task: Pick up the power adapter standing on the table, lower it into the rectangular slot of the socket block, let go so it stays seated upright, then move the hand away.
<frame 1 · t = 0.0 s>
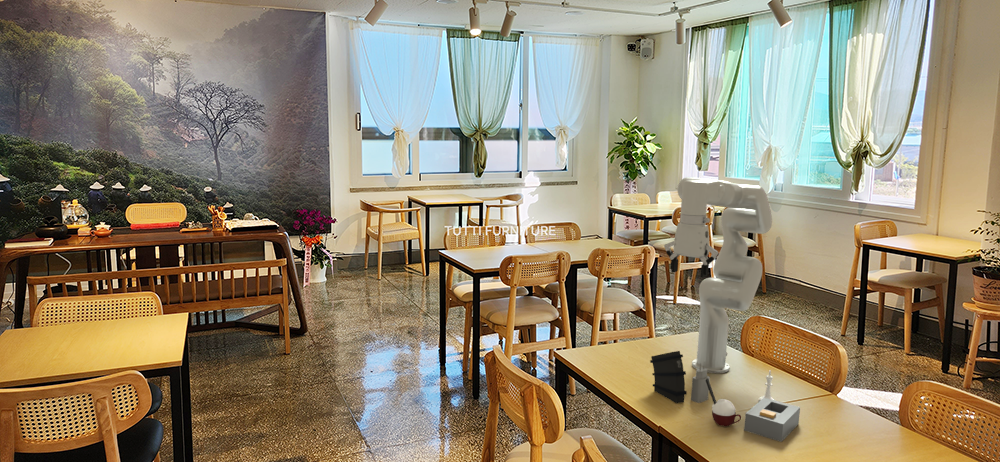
hand: (688, 274, 209), 37 cm above the table, tool pointing down, fingers open, 9 cm apart
chess piece: (767, 402, 204), on the table
power adapter: (699, 400, 205), on the table
socket block: (771, 427, 187), on the table
cocoa: (721, 424, 188), on the table
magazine: (666, 396, 207), on the table
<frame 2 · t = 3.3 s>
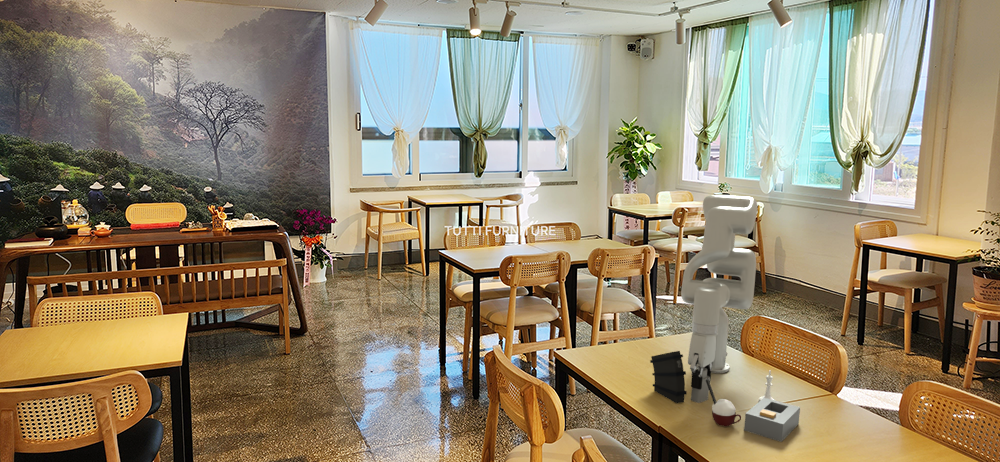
hand: (700, 384, 204), 5 cm above the table, tool pointing down, fingers closed on power adapter, 5 cm apart
power adapter: (699, 400, 205), on the table, touching gripper
everything else where it was.
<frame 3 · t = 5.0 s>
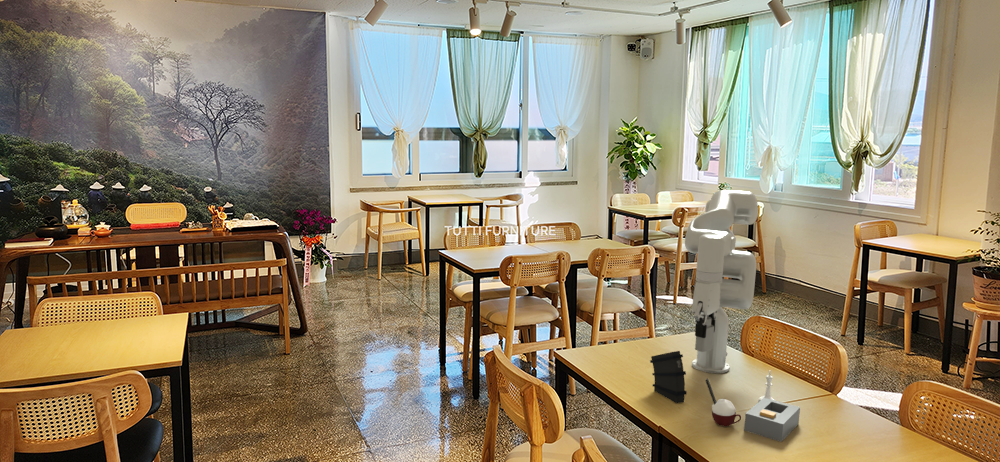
hand: (704, 333, 202), 21 cm above the table, tool pointing down, fingers closed on power adapter, 5 cm apart
power adapter: (703, 349, 203), point 16 cm above the table, touching gripper
everything else where it was.
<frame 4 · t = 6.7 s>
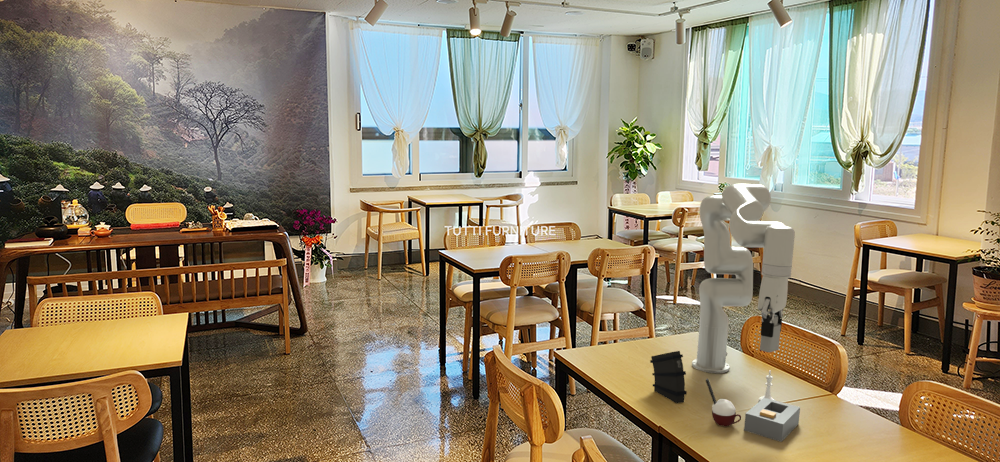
hand: (770, 333, 187), 26 cm above the table, tool pointing down, fingers closed on power adapter, 5 cm apart
power adapter: (769, 350, 188), point 21 cm above the table, touching gripper
everything else where it was.
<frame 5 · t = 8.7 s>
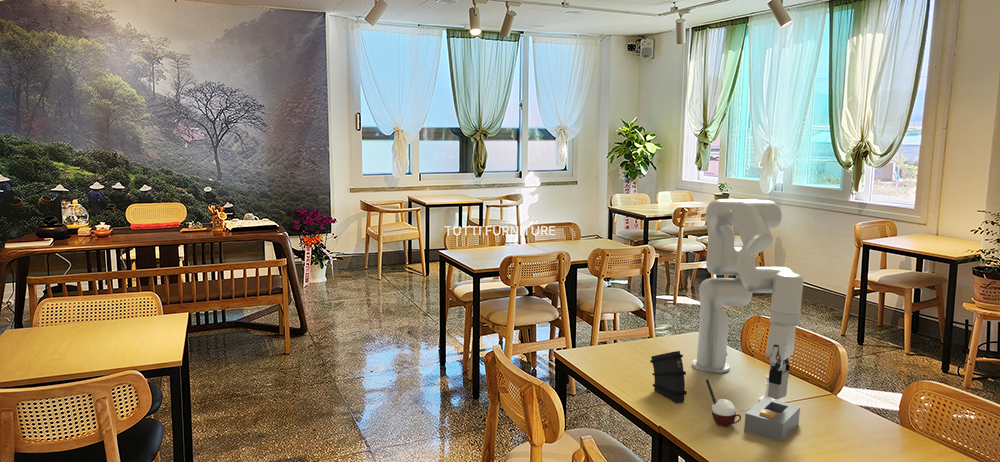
hand: (778, 379, 187), 13 cm above the table, tool pointing down, fingers closed on power adapter, 5 cm apart
power adapter: (776, 396, 188), point 8 cm above the table, touching gripper
everything else where it was.
when the fingers open (7 cm above the table, at t = 10.4 s): power adapter drops 1 cm, resting on socket block.
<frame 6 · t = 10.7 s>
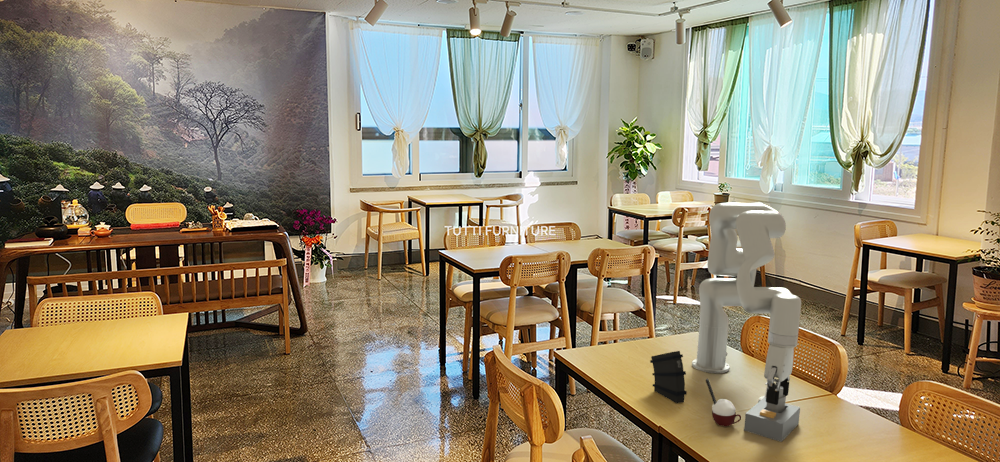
hand: (777, 398, 187), 8 cm above the table, tool pointing down, fingers open, 8 cm apart
power adapter: (774, 421, 189), point 1 cm above the table, touching socket block
everything else where it was.
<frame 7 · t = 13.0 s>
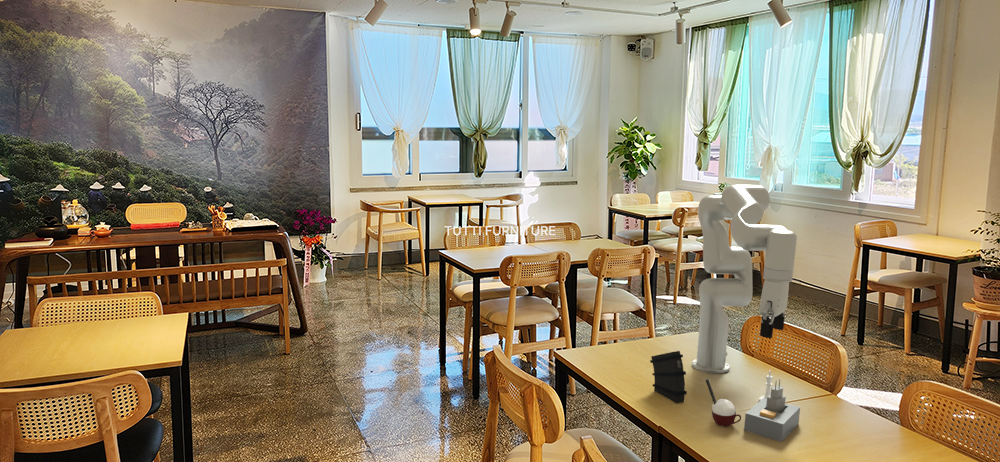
hand: (771, 332, 189), 25 cm above the table, tool pointing down, fingers open, 9 cm apart
nothing on the table moved.
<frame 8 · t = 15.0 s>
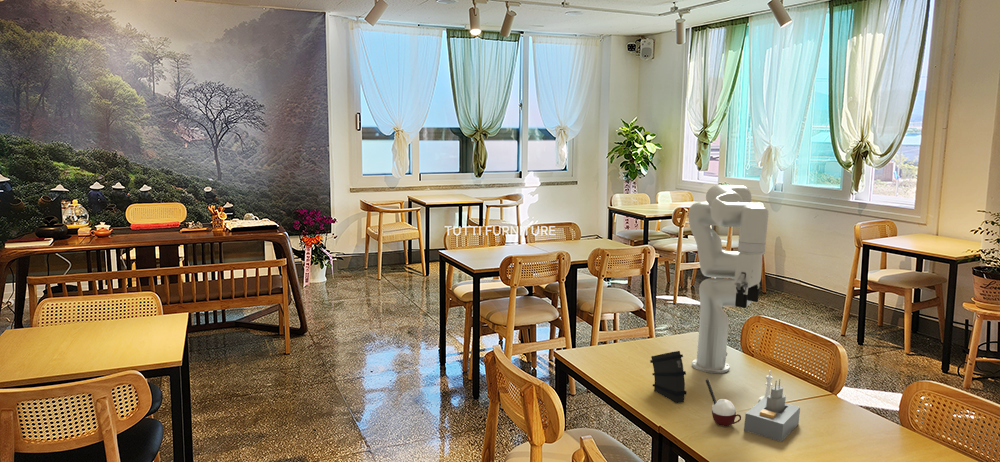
hand: (746, 304, 200), 30 cm above the table, tool pointing down, fingers open, 9 cm apart
nothing on the table moved.
at the end: power adapter 0.4 cm from the target spot on the socket block, point 0.8 cm above the socket block's base; power adapter tilted 0°; the gripper is holding nothing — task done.
